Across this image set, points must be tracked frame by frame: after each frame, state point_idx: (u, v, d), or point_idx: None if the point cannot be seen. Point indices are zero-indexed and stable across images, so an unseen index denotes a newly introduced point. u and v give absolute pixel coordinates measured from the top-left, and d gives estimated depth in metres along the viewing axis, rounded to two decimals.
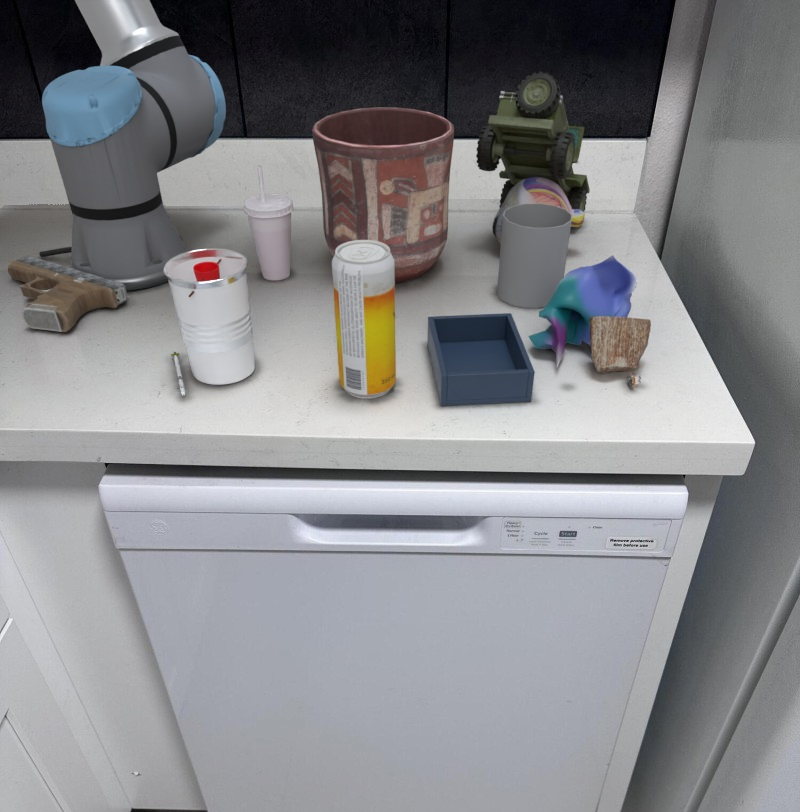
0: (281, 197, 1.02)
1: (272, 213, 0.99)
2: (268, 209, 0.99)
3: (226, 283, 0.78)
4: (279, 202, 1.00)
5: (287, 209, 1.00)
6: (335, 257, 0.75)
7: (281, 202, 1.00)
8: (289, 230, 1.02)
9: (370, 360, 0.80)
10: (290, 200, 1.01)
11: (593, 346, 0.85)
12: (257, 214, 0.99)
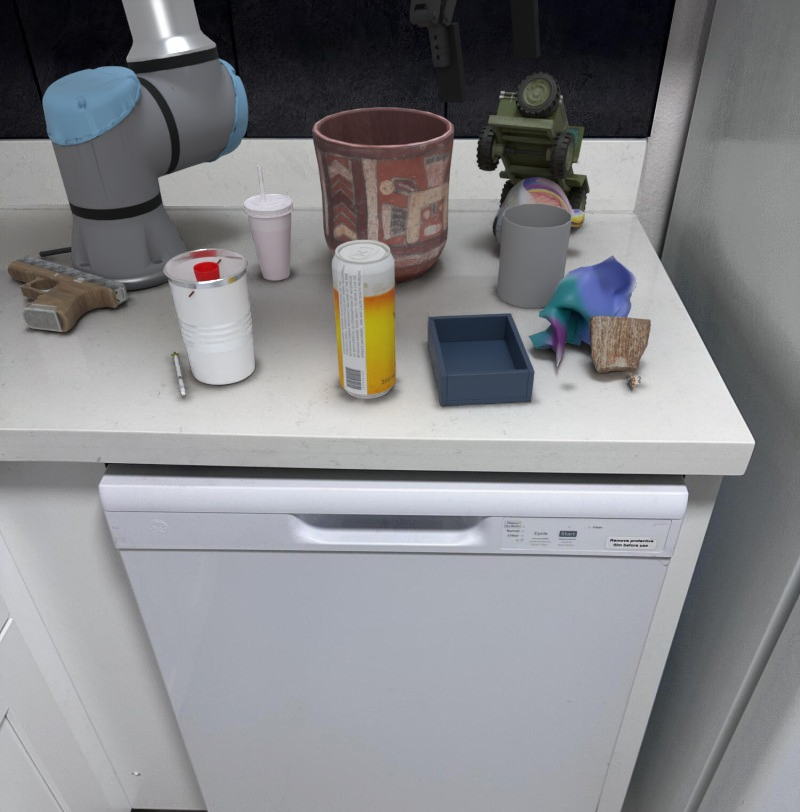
0: (281, 197, 1.02)
1: (272, 213, 0.99)
2: (268, 209, 0.99)
3: (226, 283, 0.78)
4: (279, 202, 1.00)
5: (287, 209, 1.00)
6: (335, 257, 0.75)
7: (281, 202, 1.00)
8: (289, 230, 1.02)
9: (370, 360, 0.80)
10: (290, 200, 1.01)
11: (593, 346, 0.85)
12: (257, 214, 0.99)
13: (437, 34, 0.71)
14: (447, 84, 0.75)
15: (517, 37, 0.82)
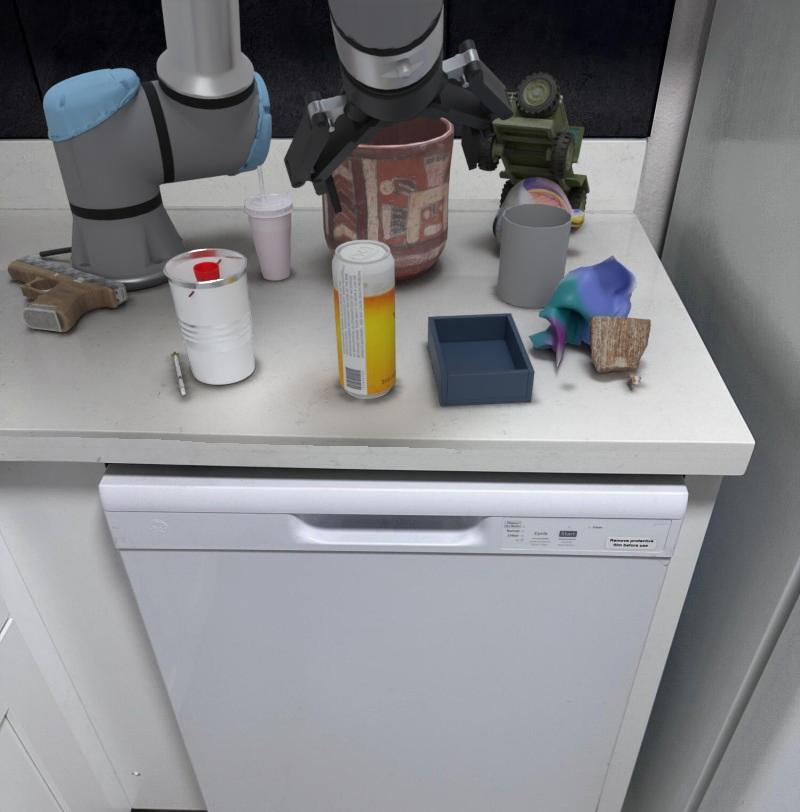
0: (281, 197, 1.02)
1: (272, 213, 0.99)
2: (268, 209, 0.99)
3: (226, 283, 0.78)
4: (279, 202, 1.00)
5: (287, 209, 1.00)
6: (335, 257, 0.75)
7: (281, 202, 1.00)
8: (289, 230, 1.02)
9: (370, 360, 0.80)
10: (290, 200, 1.01)
11: (593, 346, 0.85)
12: (257, 214, 0.99)
13: None
14: None
15: (463, 139, 0.74)
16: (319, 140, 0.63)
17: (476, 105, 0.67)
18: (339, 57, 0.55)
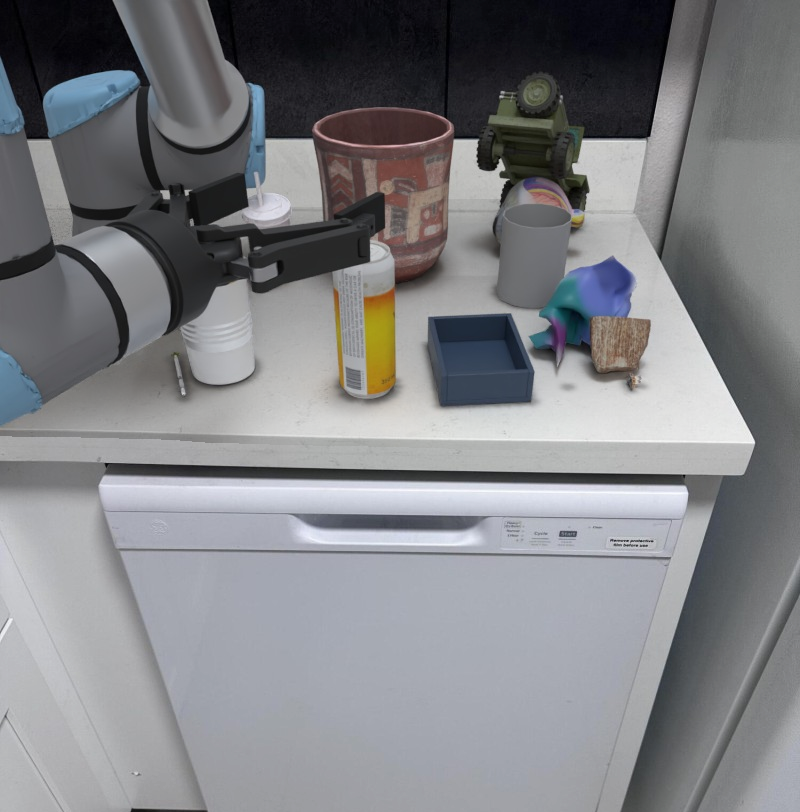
0: (279, 198, 1.00)
1: (271, 221, 0.98)
2: (266, 217, 0.98)
3: None
4: (277, 207, 0.99)
5: (285, 215, 0.98)
6: None
7: (279, 207, 0.99)
8: None
9: (370, 360, 0.80)
10: (288, 203, 0.99)
11: (593, 346, 0.85)
12: (255, 222, 0.98)
13: None
14: None
15: None
16: None
17: None
18: None
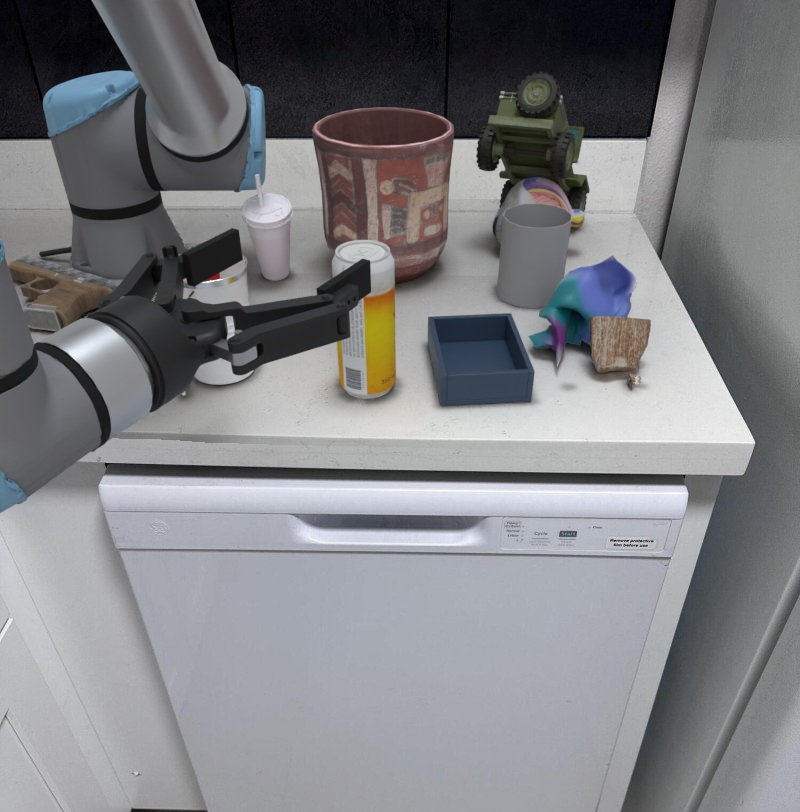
0: (279, 200, 1.00)
1: (271, 224, 0.97)
2: (267, 220, 0.97)
3: (226, 283, 0.78)
4: (278, 209, 0.98)
5: (286, 218, 0.98)
6: (335, 257, 0.75)
7: (280, 208, 0.99)
8: (288, 234, 1.01)
9: (370, 360, 0.80)
10: (289, 205, 0.99)
11: (593, 346, 0.85)
12: (256, 224, 0.98)
13: None
14: None
15: None
16: None
17: None
18: None
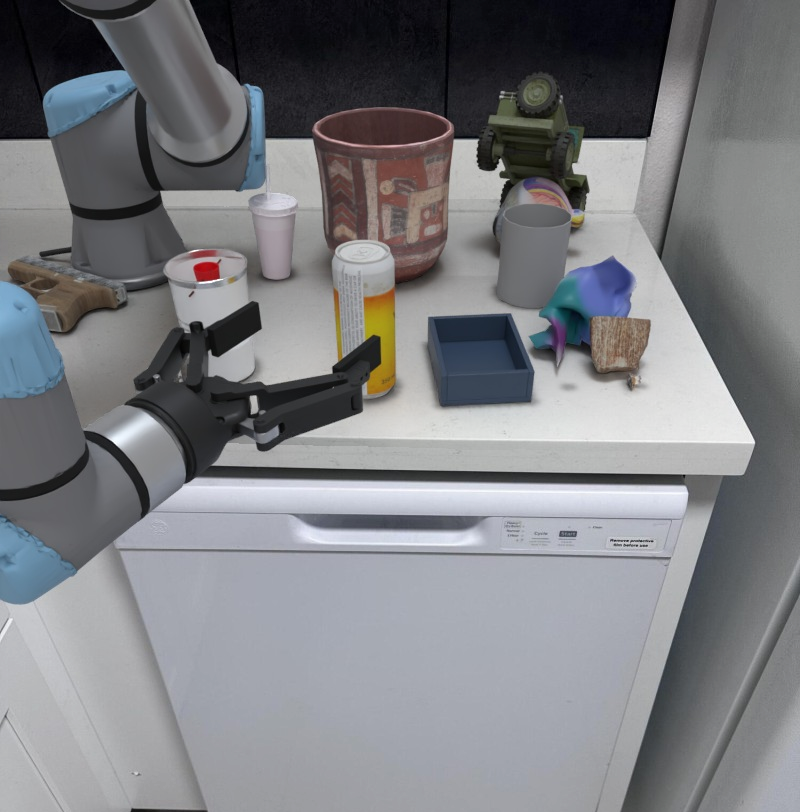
0: (286, 197, 1.02)
1: (277, 212, 0.99)
2: (273, 208, 0.99)
3: (226, 283, 0.78)
4: (284, 202, 1.00)
5: (292, 209, 1.00)
6: (335, 257, 0.75)
7: (286, 202, 1.00)
8: (292, 230, 1.02)
9: None
10: (295, 201, 1.01)
11: (593, 346, 0.85)
12: (262, 212, 0.99)
13: None
14: None
15: None
16: None
17: None
18: None
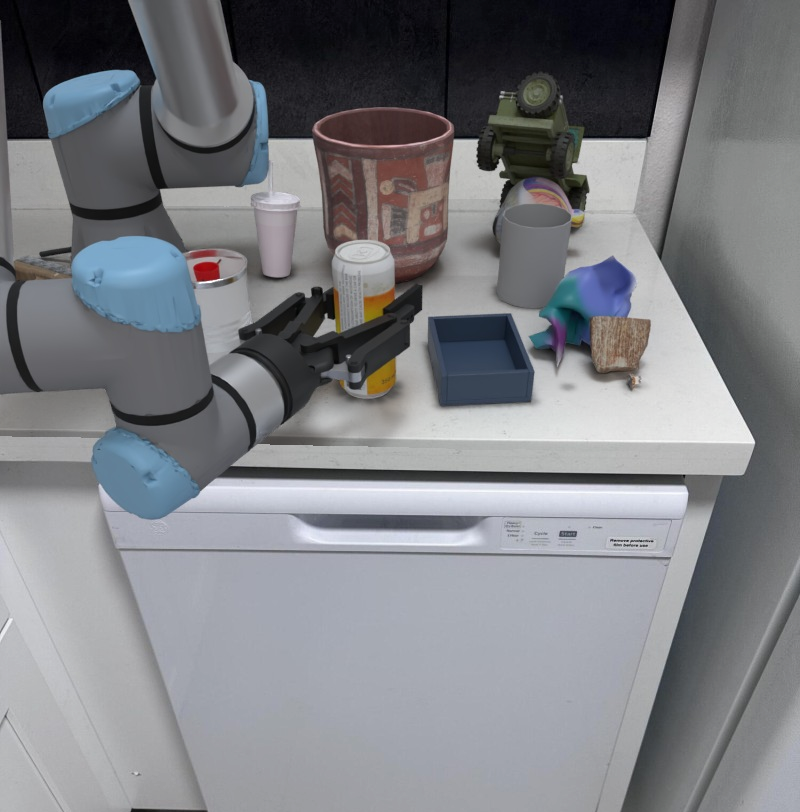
0: (289, 195, 1.03)
1: (279, 206, 0.99)
2: (275, 203, 0.99)
3: (226, 283, 0.78)
4: (286, 199, 1.01)
5: (294, 205, 1.00)
6: (335, 257, 0.75)
7: (288, 199, 1.01)
8: (294, 228, 1.03)
9: None
10: (297, 198, 1.02)
11: (593, 346, 0.85)
12: (263, 207, 0.99)
13: None
14: None
15: None
16: None
17: None
18: None
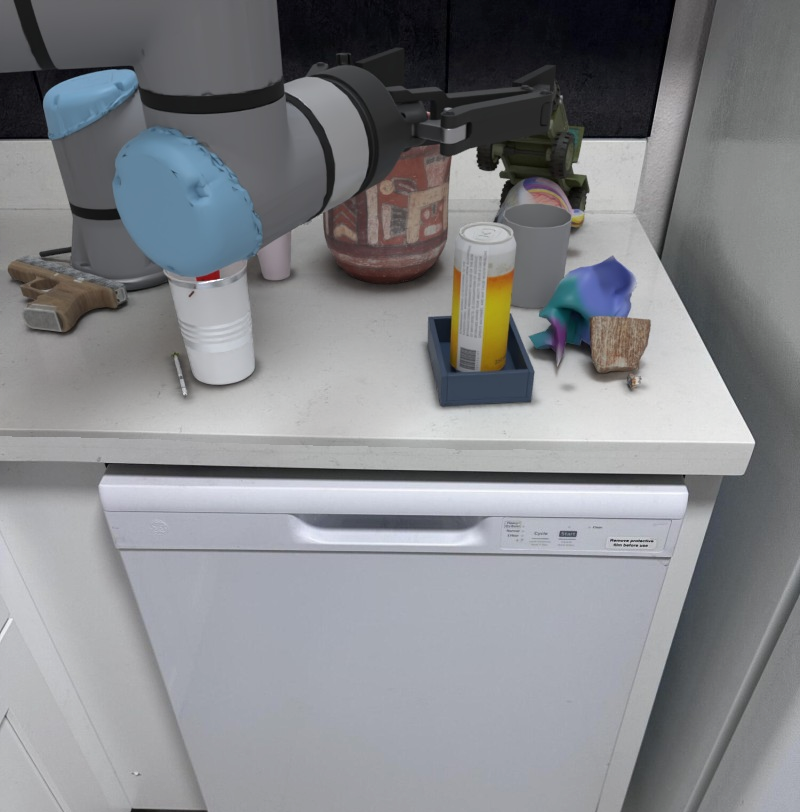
0: None
1: None
2: None
3: (226, 283, 0.78)
4: None
5: None
6: (460, 238, 0.77)
7: None
8: None
9: (487, 340, 0.82)
10: None
11: (593, 346, 0.85)
12: None
13: None
14: None
15: None
16: None
17: None
18: None
